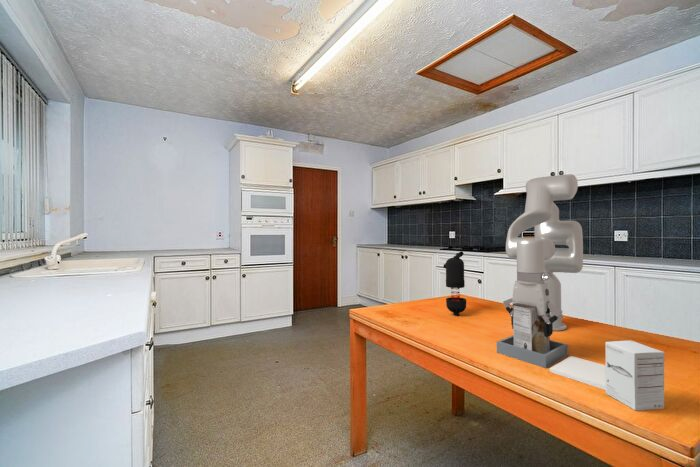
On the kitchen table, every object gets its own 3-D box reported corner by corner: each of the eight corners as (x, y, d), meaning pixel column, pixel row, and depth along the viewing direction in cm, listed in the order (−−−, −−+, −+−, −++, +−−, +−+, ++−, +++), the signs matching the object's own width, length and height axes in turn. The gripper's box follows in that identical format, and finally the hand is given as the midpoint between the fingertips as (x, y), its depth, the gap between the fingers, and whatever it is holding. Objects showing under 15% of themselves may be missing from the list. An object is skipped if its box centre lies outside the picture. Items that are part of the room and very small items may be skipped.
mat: (571, 359, 95) (571, 355, 95) (631, 376, 83) (631, 372, 83) (549, 371, 87) (549, 368, 87) (613, 392, 75) (613, 388, 75)
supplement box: (604, 394, 75) (603, 341, 75) (632, 392, 76) (632, 339, 75) (634, 411, 68) (634, 353, 68) (666, 409, 68) (665, 351, 68)
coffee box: (530, 348, 104) (530, 299, 104) (550, 354, 99) (549, 303, 99) (513, 353, 100) (512, 303, 100) (532, 360, 95) (531, 307, 94)
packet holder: (520, 342, 110) (520, 332, 110) (567, 355, 98) (567, 344, 98) (496, 352, 101) (496, 341, 101) (545, 368, 89) (545, 355, 89)
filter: (472, 317, 142) (471, 251, 142) (455, 319, 139) (454, 251, 139) (453, 310, 155) (452, 249, 155) (437, 312, 152) (436, 250, 152)
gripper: (566, 279, 94) (567, 336, 94) (509, 274, 109) (510, 323, 109) (555, 282, 90) (556, 342, 90) (497, 276, 104) (498, 327, 104)
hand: (531, 332), depth 99 cm, fingers open, 9 cm apart
